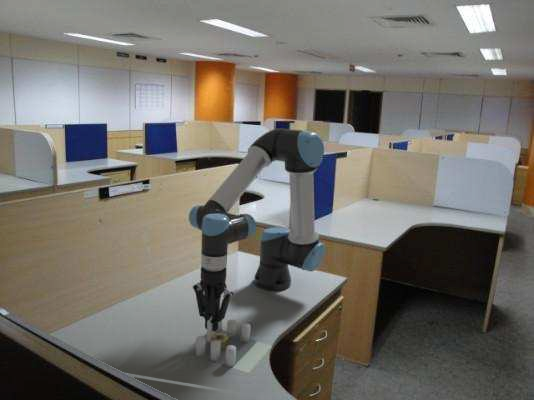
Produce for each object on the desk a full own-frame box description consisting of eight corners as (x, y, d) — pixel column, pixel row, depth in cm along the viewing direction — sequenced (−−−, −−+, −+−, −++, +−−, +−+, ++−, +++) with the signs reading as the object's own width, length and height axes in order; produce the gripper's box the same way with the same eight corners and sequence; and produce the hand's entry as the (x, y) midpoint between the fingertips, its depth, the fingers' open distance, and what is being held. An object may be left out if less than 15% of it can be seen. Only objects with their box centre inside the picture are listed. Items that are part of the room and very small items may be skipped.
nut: (216, 339, 138) (216, 331, 137) (230, 343, 136) (230, 334, 136) (208, 349, 133) (208, 339, 132) (222, 353, 131) (223, 343, 130)
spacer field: (213, 329, 145) (213, 313, 144) (272, 347, 137) (273, 330, 135) (184, 353, 131) (184, 336, 129) (248, 375, 122) (249, 357, 121)
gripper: (187, 265, 130) (186, 338, 135) (226, 275, 124) (223, 351, 130) (202, 258, 136) (199, 327, 142) (239, 267, 131) (235, 339, 136)
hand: (211, 339), depth 136 cm, fingers closed
